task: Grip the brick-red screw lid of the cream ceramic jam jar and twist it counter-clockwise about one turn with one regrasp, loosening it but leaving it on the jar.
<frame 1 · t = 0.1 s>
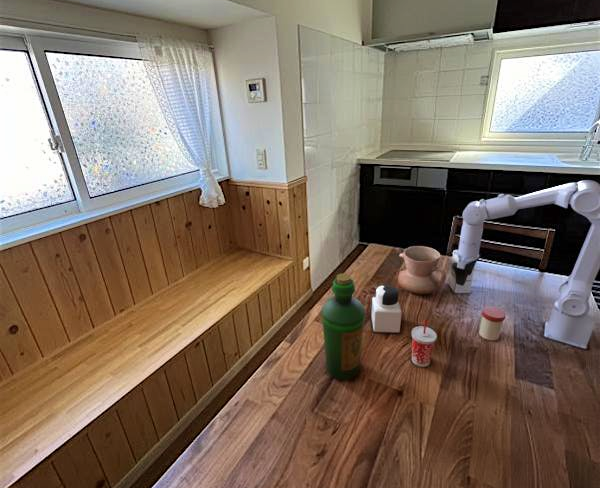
hand: (463, 279, 108), 10 cm above the table, tool pointing down, fingers open, 7 cm apart
beverage cup: (420, 361, 90), on the table
jar lid: (493, 312, 95), point 8 cm above the table, screwed on, not yet turned
syrup box: (458, 289, 121), on the table
ceramic jug: (419, 288, 122), on the table
bottle: (342, 369, 89), on the table
container: (385, 325, 105), on the table
jam jar: (488, 334, 98), on the table
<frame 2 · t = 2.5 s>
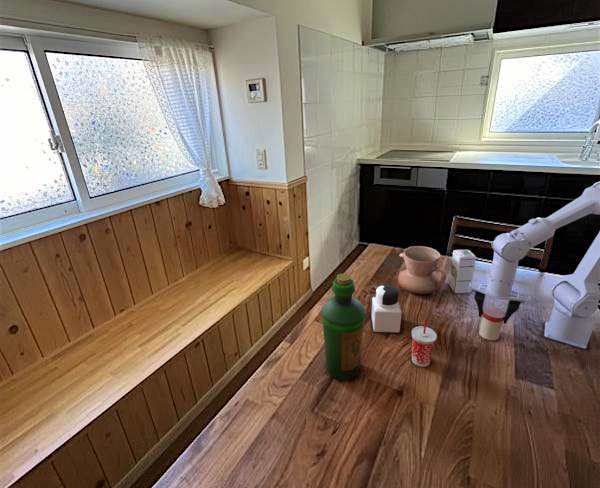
hand: (492, 318, 96), 6 cm above the table, tool pointing down, fingers closed on jar lid, 5 cm apart
jar lid: (493, 312, 95), point 8 cm above the table, screwed on, not yet turned, touching gripper
everything else where it was.
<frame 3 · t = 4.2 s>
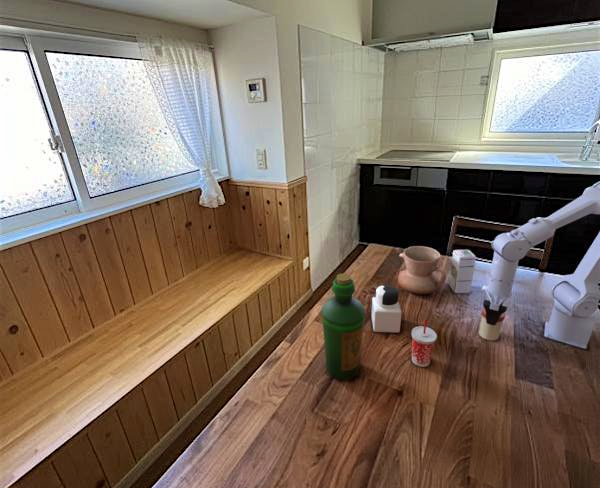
hand: (492, 318, 96), 6 cm above the table, tool pointing down, fingers closed on jar lid, 5 cm apart
jar lid: (493, 312, 95), point 8 cm above the table, turned 86° so far, risen 0.1 cm, still on its thread, touching gripper
everything else where it was.
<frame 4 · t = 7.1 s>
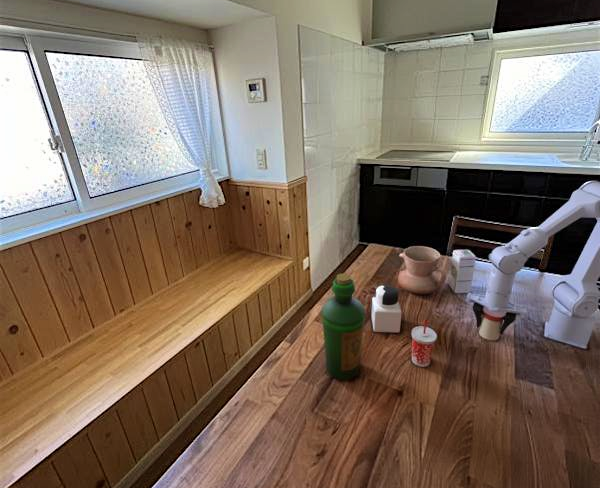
hand: (489, 328, 97), 2 cm above the table, tool pointing down, fingers closed on jar lid, 5 cm apart
jar lid: (493, 312, 95), point 8 cm above the table, turned 174° so far, risen 0.2 cm, still on its thread, touching gripper
everything else where it was.
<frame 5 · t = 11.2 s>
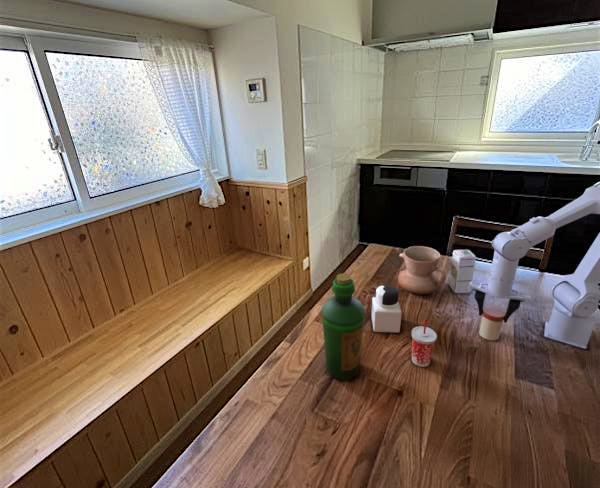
hand: (492, 317, 96), 6 cm above the table, tool pointing down, fingers closed on jar lid, 5 cm apart
jar lid: (493, 312, 95), point 8 cm above the table, turned 174° so far, risen 0.2 cm, still on its thread, touching gripper
everything else where it was.
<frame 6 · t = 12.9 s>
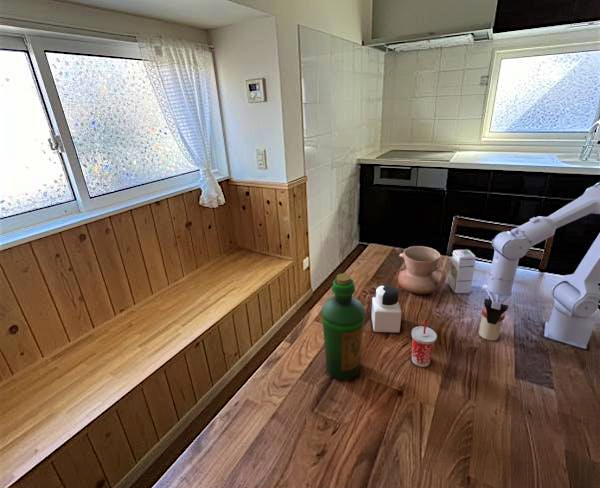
hand: (492, 316, 96), 6 cm above the table, tool pointing down, fingers closed on jar lid, 5 cm apart
jar lid: (493, 311, 95), point 8 cm above the table, turned 262° so far, risen 0.3 cm, still on its thread, touching gripper
everything else where it was.
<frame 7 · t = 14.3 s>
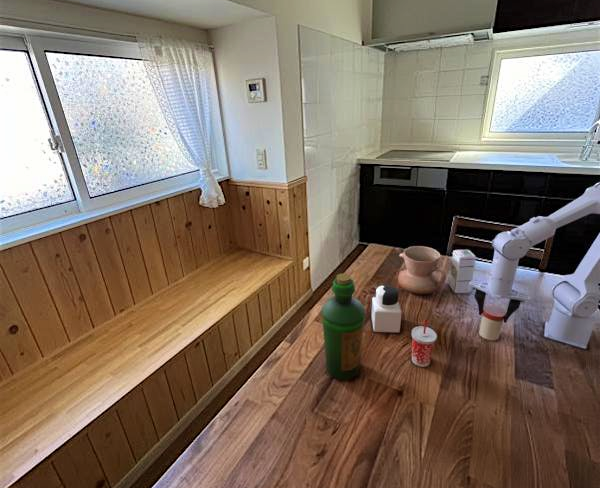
hand: (492, 316, 96), 6 cm above the table, tool pointing down, fingers closed on jar lid, 5 cm apart
jar lid: (494, 311, 95), point 8 cm above the table, turned 347° so far, risen 0.5 cm, still on its thread, touching gripper
everything else where it was.
when the fingers open (2 cm above the table, at t = 16.1 s): jar lid stays where it is, point 8 cm above the table.
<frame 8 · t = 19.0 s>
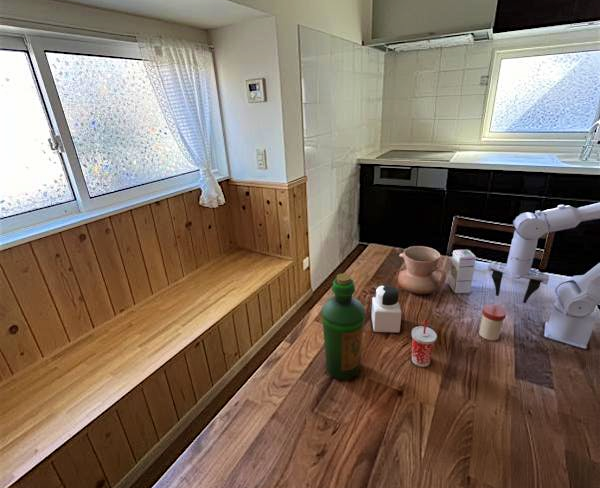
hand: (510, 297, 98), 10 cm above the table, tool pointing down, fingers open, 6 cm apart
jar lid: (494, 311, 95), point 8 cm above the table, turned 347° so far, risen 0.5 cm, still on its thread
everything else where it was.
at the end: jar lid turned 0.96 turns (still on its thread); jar lid is still on its thread (0.96 turns); jam jar tilted 0° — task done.
